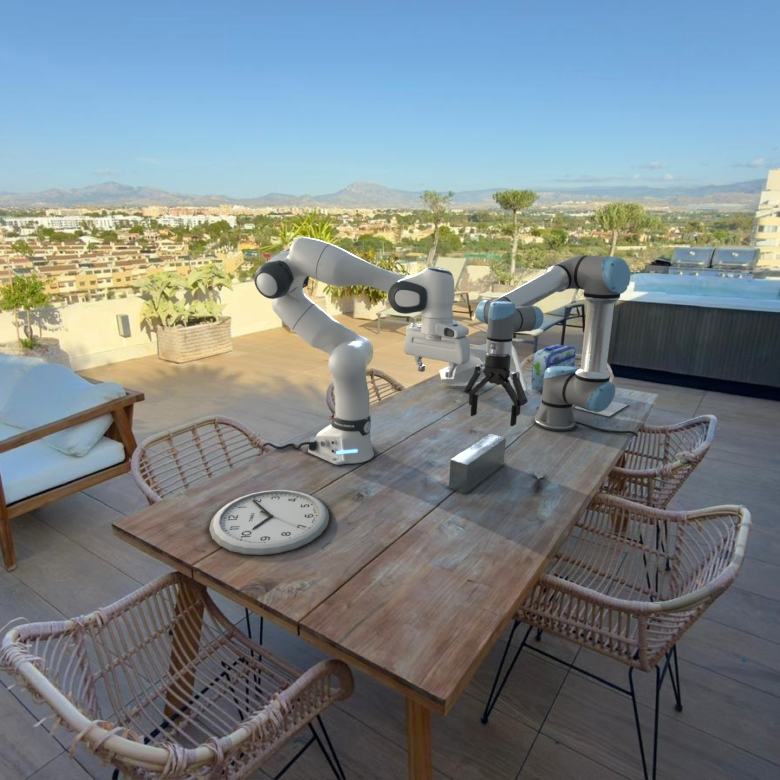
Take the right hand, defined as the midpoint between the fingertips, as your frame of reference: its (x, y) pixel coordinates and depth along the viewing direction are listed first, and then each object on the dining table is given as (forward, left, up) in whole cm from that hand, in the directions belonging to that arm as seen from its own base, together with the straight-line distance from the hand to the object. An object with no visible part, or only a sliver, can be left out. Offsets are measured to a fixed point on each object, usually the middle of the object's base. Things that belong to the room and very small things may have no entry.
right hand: (492, 420), depth 163 cm
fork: (-14, +10, -16) cm, 23 cm away
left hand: (+18, +10, +17) cm, 27 cm away
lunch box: (-35, -90, -16) cm, 98 cm away
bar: (+4, +7, -16) cm, 18 cm away
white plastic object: (0, -79, -16) cm, 81 cm away
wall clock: (+58, +42, -16) cm, 73 cm away
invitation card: (-52, -67, -16) cm, 86 cm away
